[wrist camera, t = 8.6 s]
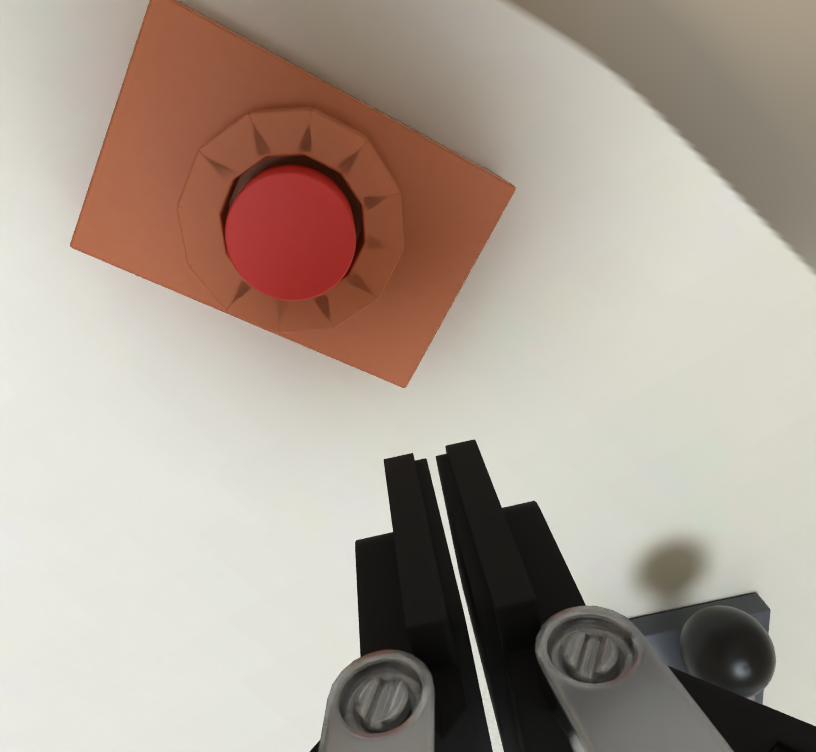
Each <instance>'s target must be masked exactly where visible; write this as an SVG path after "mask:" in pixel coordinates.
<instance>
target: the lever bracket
mask: <svg viewBox="0 0 816 752" xmlns="http://www.w3.org/2000/svg"><path fill="white" fill-rule="evenodd" d="M717 605H722V606H730V607H734V608H737V609H739V610H742V611H744V612H746V613H747V614H749V615H751V616H752V617H753V618H755V619H756V620H757V621H758V622H759V623H760V624H761V625H762V626H763V627H764V629H765V630H766V631H767V633H768V632H769V621H770V608H769V607H768V606H767V605H766V603H765V602H764V601H763V600H762V599H761V597H760V596H759V595H758V594H757V593H754V594H749V595H744V596H739V597H735V598H730V599H725V600H720V601H716V602H711V603H706V604H701V605H696V606H692V607H687V608H682V609H677V610H673V611H668V612H663V613H658V614H654V615H649V616H644V617H639V618H635V619H630V621H631V622H632V623H633V624H634V625H635V626H636V627H637V628H638V629H639V630H640V631H641V632H642V634H643V635H644V636H645V638H646V639H647V640H648V641H649V643H650V644H651V645H652V647H653V648H654V649H655V650H656V652H657V653H658V654H659V656H660V657H661V658H662V659H663V661H664V662H665V663H666V665H668V666H670V667H672V668H675V669H677V670H680V671H682V672H685V673H687V674H688V672H687V670H686V668H685V667H684V664H683V662H682V659H681V655H680V649H679V641H680V635H681V632H682V629H683V627H684V625H685V623H686V622H687V620H688V619H689V618H690V617H691V616H692V615H693V614H694V613H696V612H697V611H699V610H701V609H703V608H706V607H710V606H717ZM763 691H764V689H763V690H762V691H761V692H759V693H758V694H756V695H754V697H755V701H756V702H757V703H760V704H762V702H763Z"/></svg>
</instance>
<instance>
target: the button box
mask: <svg viewBox="0 0 816 752" xmlns="http://www.w3.org/2000/svg"><path fill="white" fill-rule="evenodd" d="M285 164H297V165H304V166H307V167H311V168H313V169H316V170H318V171H320V172H322V173H323V174H325V175H327V176H328V177H329V178H330V179H332V180H333V181H334V182H335V183H336V184H337V185H338V186H339V187H340V189H341V190H342V191H343V192H344V194H345V196H346V198H347V199H348V201H349V204H350V206H351V209H352V213H353V218H354V225H355V231H356V247H355V253H354V257H353V260H352V263H351V265H350V267H349V269H348V271H347V272H346V274H345V275H344V277H343V278H342V279H341V280H340V281H339V282H338V283H337V284H336V285H335V286H334V287H333V288H331V289H330V290H329V291H327V292H325V293H323V294H321V295H319V296H317V297H314V298H310V299H306V300H299V301H289V300H281V299H277V298H273V297H270V296H268V295H265V294H263V293H261V292H259V291H258V290H256V289H255V288H253V287H252V286H251V285H250V284H248V283H247V282H246V281H245V280H244V279H243V278H242V277H241V276H240V274H239V273H238V272H237V270H236V269H235V267H234V265H233V263H232V261H231V259H230V257H229V254H228V251H227V247H226V241H225V225H226V219H227V216H228V213H229V210H230V208H231V206H232V204H233V202H234V200H235V199H236V197H237V196H238V194H239V193H240V192H241V190H242V189H243V188H244V187H245V185H246V184H247V183H248V182H249V181H250V180H251V179H252V178H253V177H255V176H256V175H257V174H259V173H260V172H262V171H264V170H266V169H268V168H271V167H274V166H278V165H285ZM514 191H515V186H514V185H512V184H510V183H509V182H507V181H506V180H504V179H502V178H501V177H499V176H497V175H495V174H494V173H492V172H490V171H488V170H486V169H484V168H483V167H481V166H479V165H477V164H475V163H473V162H472V161H470V160H468V159H466V158H464V157H462V156H461V155H459V154H457V153H455V152H453V151H451V150H450V149H448V148H446V147H444V146H442V145H440V144H439V143H437V142H435V141H433V140H431V139H429V138H428V137H426V136H424V135H422V134H420V133H418V132H417V131H415V130H413V129H411V128H409V127H407V126H406V125H404V124H402V123H400V122H398V121H396V120H395V119H393V118H391V117H389V116H387V115H385V114H384V113H382V112H380V111H378V110H376V109H374V108H373V107H371V106H369V105H367V104H365V103H363V102H362V101H360V100H358V99H356V98H354V97H352V96H351V95H349V94H347V93H345V92H343V91H341V90H340V89H338V88H336V87H334V86H332V85H330V84H329V83H327V82H325V81H323V80H321V79H319V78H318V77H316V76H314V75H312V74H310V73H308V72H307V71H305V70H303V69H301V68H299V67H297V66H296V65H294V64H292V63H290V62H288V61H286V60H285V59H283V58H281V57H279V56H277V55H275V54H274V53H272V52H270V51H268V50H266V49H264V48H263V47H261V46H259V45H257V44H255V43H253V42H252V41H250V40H248V39H246V38H244V37H242V36H240V35H239V34H237V33H235V32H233V31H231V30H229V29H228V28H226V27H224V26H222V25H220V24H218V23H217V22H215V21H213V20H211V19H209V18H207V17H206V16H204V15H202V14H200V13H198V12H196V11H195V10H193V9H191V8H189V7H187V6H185V5H184V4H182V3H180V2H178V1H176V0H150V1H149V4H148V7H147V11H146V14H145V17H144V20H143V23H142V26H141V29H140V32H139V35H138V38H137V41H136V44H135V47H134V50H133V53H132V56H131V59H130V63H129V66H128V69H127V72H126V75H125V78H124V81H123V84H122V87H121V90H120V93H119V96H118V99H117V102H116V105H115V108H114V111H113V115H112V118H111V121H110V124H109V127H108V130H107V133H106V136H105V139H104V142H103V145H102V148H101V151H100V154H99V157H98V160H97V163H96V166H95V170H94V173H93V176H92V179H91V182H90V185H89V188H88V191H87V194H86V197H85V200H84V203H83V206H82V209H81V212H80V215H79V218H78V222H77V225H76V228H75V231H74V234H73V237H72V240H71V243H70V247H72V248H74V249H76V250H78V251H81V252H83V253H85V254H88V255H90V256H93V257H95V258H97V259H100V260H102V261H104V262H107V263H109V264H111V265H114V266H116V267H119V268H121V269H123V270H126V271H128V272H130V273H133V274H135V275H137V276H140V277H142V278H145V279H147V280H149V281H152V282H154V283H156V284H159V285H161V286H163V287H166V288H168V289H171V290H173V291H175V292H178V293H180V294H182V295H185V296H187V297H190V298H192V299H194V300H197V301H199V302H201V303H204V304H206V305H208V306H211V307H213V308H216V309H218V310H220V311H223V312H225V313H227V314H230V315H232V316H234V317H237V318H239V319H242V320H244V321H246V322H249V323H251V324H253V325H256V326H258V327H260V328H263V329H265V330H268V331H270V332H272V333H275V334H277V335H279V336H282V337H284V338H287V339H289V340H291V341H294V342H296V343H298V344H301V345H303V346H305V347H308V348H310V349H313V350H315V351H317V352H320V353H322V354H324V355H327V356H329V357H331V358H334V359H336V360H339V361H341V362H343V363H346V364H348V365H350V366H353V367H355V368H357V369H360V370H362V371H365V372H367V373H369V374H372V375H374V376H376V377H379V378H381V379H384V380H386V381H388V382H391V383H393V384H395V385H398V386H400V387H402V388H405V387H406V386H407V385H408V383H409V381H410V379H411V377H412V376H413V374H414V372H415V370H416V368H417V366H418V365H419V363H420V361H421V359H422V357H423V356H424V354H425V352H426V350H427V348H428V347H429V345H430V343H431V341H432V339H433V338H434V336H435V334H436V332H437V330H438V329H439V327H440V325H441V323H442V321H443V320H444V318H445V316H446V314H447V312H448V311H449V309H450V307H451V305H452V303H453V301H454V300H455V298H456V296H457V294H458V292H459V291H460V289H461V287H462V285H463V283H464V282H465V280H466V278H467V276H468V274H469V273H470V271H471V269H472V267H473V265H474V264H475V262H476V260H477V258H478V256H479V255H480V253H481V251H482V249H483V247H484V245H485V244H486V242H487V240H488V238H489V236H490V235H491V233H492V231H493V229H494V227H495V226H496V224H497V222H498V220H499V218H500V217H501V215H502V213H503V211H504V209H505V208H506V206H507V204H508V202H509V200H510V199H511V197H512V195H513V193H514Z"/></svg>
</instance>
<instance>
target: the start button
mask: <svg viewBox="0 0 816 752" xmlns="http://www.w3.org/2000/svg"><path fill="white" fill-rule="evenodd" d="M225 241H226V247H227V251H228V254H229V257H230V259H231V261H232V263H233V265H234V267H235V269H236V270H237V272H238V273H239V274H240V276H241V277H242V278H243V279H244V280H245V281H246V282H247V283H248V284H250V285H251V286H252V287H253V288H255V289H256V290H258V291H259V292H261V293H263V294H265V295H268V296H270V297H273V298H277V299H281V300H289V301H299V300H306V299H310V298H314V297H317V296H319V295H321V294H323V293H325V292H327V291H329V290H330V289H331V288H333V287H334V286H335V285H336V284H337V283H338V282H339V281H340V280H341V279H342V278H343V277H344V275H345V274H346V272H347V271H348V269H349V267H350V265H351V263H352V260H353V257H354V253H355V247H356V231H355V225H354V218H353V213H352V209H351V206H350V204H349V201H348V199H347V198H346V196H345V194H344V192H343V191H342V190H341V189H340V187H339V186H338V185H337V184H336V183H335V182H334V181H333V180H332V179H330V178H329V177H328V176H327V175H325V174H323V173H322V172H320V171H318V170H316V169H313V168H311V167H307V166H304V165H297V164H285V165H278V166H274V167H271V168H268V169H266V170H264V171H262V172H260V173H259V174H257V175H256V176H255V177H253V178H252V179H251V180H250V181H249V182H248V183H247V184H246V185H245V187H244V188H243V189H242V190H241V192H240V193H239V194H238V196H237V197H236V199H235V200H234V202H233V204H232V206H231V208H230V210H229V213H228V216H227V219H226V225H225Z"/></svg>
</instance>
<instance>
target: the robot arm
mask: <svg viewBox="0 0 816 752" xmlns="http://www.w3.org/2000/svg"><path fill="white" fill-rule="evenodd" d="M446 453H447V454H443V455H439V456H436V461H437V466H438V471H439V476H440V481H441V486H442V491H443V495H444V500H445V505H446V510H447V515H448V520H449V525H450V530H451V535H452V540H453V545H454V549H455V554H456V559H457V564H458V569H459V574H460V578H461V583H462V587H463V591H464V595H465V599H466V603H467V607H468V611H469V615H470V619H471V623H472V627H473V631H474V635H475V639H476V643H477V646H478V650H479V654H480V658H481V662H482V666H483V670H484V674H485V678H486V682H487V686H488V690H489V694H490V698H491V702H492V706H493V710H494V714H495V718H496V722H497V726H498V730H499V734H500V737H501V741H502V745H503V749H504V752H816V727H815V726H813V725H811V724H808V723H806V722H803V721H801V720H798V719H796V718H794V717H791V716H789V715H786V714H784V713H781V712H779V711H777V710H774V709H772V708H769V707H767V706H765V705H762V704H760V703H757V702H755V701H752V700H750V699H748V698H745V697H743V696H740V695H738V694H735V693H733V692H731V691H728V690H726V689H723V688H721V687H718V686H716V685H714V684H711V683H709V682H706V681H704V680H702V679H699V678H697V677H694V676H692V675H689V674H687V673H685V672H682V671H680V670H677V669H675V668H672V667H670V666H668V665H666V663H665V662H664V661H663V659H662V658H661V657H660V656H659V654H658V653H657V652H656V650H655V649H654V648H653V647H652V645H651V644H650V643H649V641H648V640H647V639H646V638H645V636H644V635H643V634H642V632H641V631H640V630H639V629H638V628H637V627H636V626H635V625H634V624H633V623H632V622H631V621H630V620H629V619H628V618H626V617H625V616H623V615H621V614H619V613H617V612H615V611H613V610H610V609H606V608H602V607H598V606H586V605H585V603H584V601H583V599H582V596H581V594H580V592H579V590H578V588H577V586H576V584H575V582H574V580H573V577H572V575H571V573H570V571H569V569H568V567H567V565H566V563H565V561H564V558H563V556H562V554H561V552H560V550H559V548H558V546H557V544H556V542H555V539H554V537H553V535H552V533H551V531H550V529H549V527H548V525H547V523H546V520H545V518H544V516H543V514H542V512H541V510H540V508H539V506H538V504H537V503H536V502H535V501H531V502H527V503H522V504H518V505H513V506H509V507H504V508H502V507H501V505H500V502H499V500H498V497H497V494H496V492H495V489H494V487H493V484H492V481H491V479H490V476H489V474H488V471H487V469H486V466H485V463H484V461H483V458H482V456H481V453H480V451H479V448H478V445H477V443H476V441H475V440H470V441H465V442H460V443H456V444H451V445H447V446H446ZM384 466H385V474H386V481H387V489H388V496H389V504H390V511H391V519H392V526H393V532H392V533H387V534H383V535H378V536H374V537H369V538H365V539H360V540H356V542H355V553H356V573H357V594H358V614H359V634H360V654H361V657H360V658H358V659H356V660H354V661H353V662H352V663H351V664H350V665H348V666H347V667H346V668H345V669H344V670H343V671H342V672H341V673H340V674H339V676H338V677H337V679H336V680H335V681H334V683H333V684H332V687H331V690H330V693H329V696H328V699H327V705H326V710H325V716H324V722H323V728H322V734H321V740H320V741H319V742H318V743H317V744H316V745H315V746H314V747H313V749H312V750H311V751H310V752H493V751H492V746H491V741H490V736H489V731H488V726H487V722H486V717H485V712H484V707H483V702H482V697H481V692H480V688H479V683H478V678H477V673H476V668H475V663H474V659H473V654H472V649H471V644H470V639H469V634H468V630H467V625H466V620H465V616H464V612H463V607H462V603H461V599H460V595H459V590H458V586H457V582H456V578H455V574H454V570H453V566H452V562H451V558H450V553H449V549H448V545H447V541H446V537H445V533H444V529H443V525H442V521H441V516H440V512H439V508H438V504H437V500H436V496H435V492H434V488H433V484H432V480H431V475H430V471H429V467H428V463H427V459H426V458H425V459H421V460H416V461H415V460H414V455H413V453H411V454H406V455H401V456H397V457H392V458H388V459H384Z"/></svg>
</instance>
